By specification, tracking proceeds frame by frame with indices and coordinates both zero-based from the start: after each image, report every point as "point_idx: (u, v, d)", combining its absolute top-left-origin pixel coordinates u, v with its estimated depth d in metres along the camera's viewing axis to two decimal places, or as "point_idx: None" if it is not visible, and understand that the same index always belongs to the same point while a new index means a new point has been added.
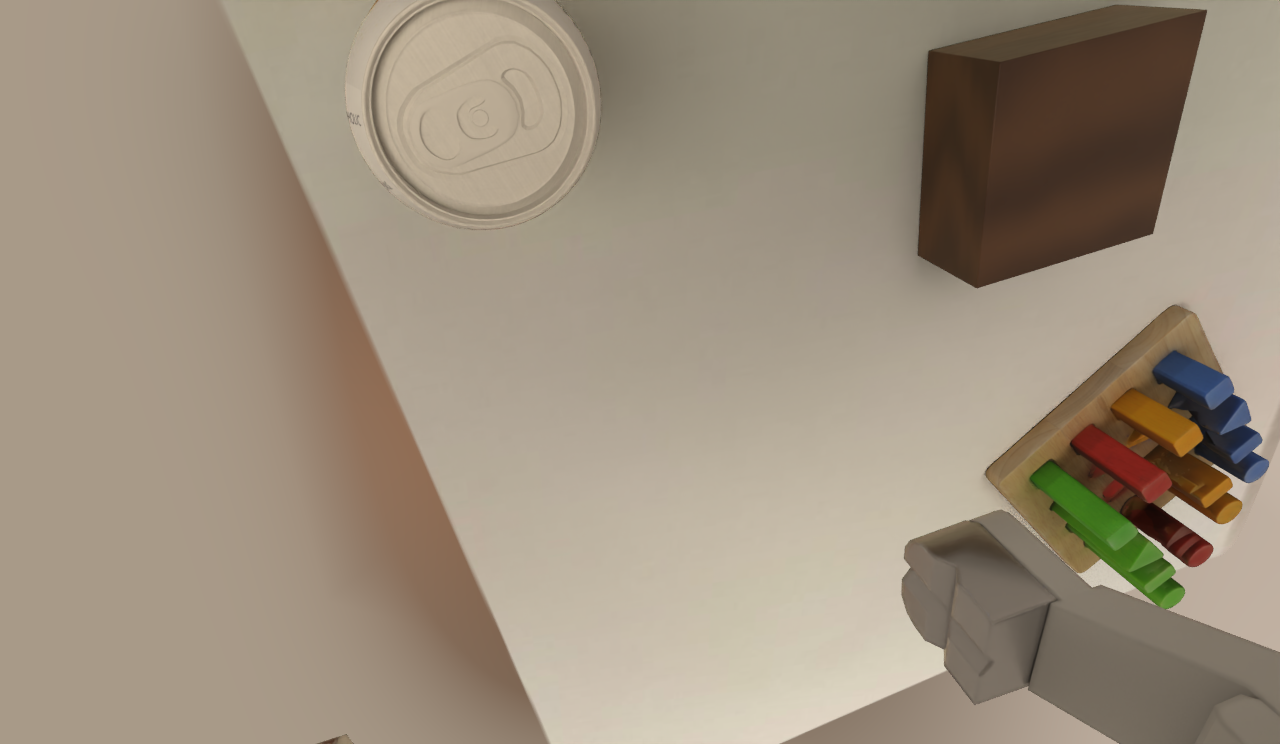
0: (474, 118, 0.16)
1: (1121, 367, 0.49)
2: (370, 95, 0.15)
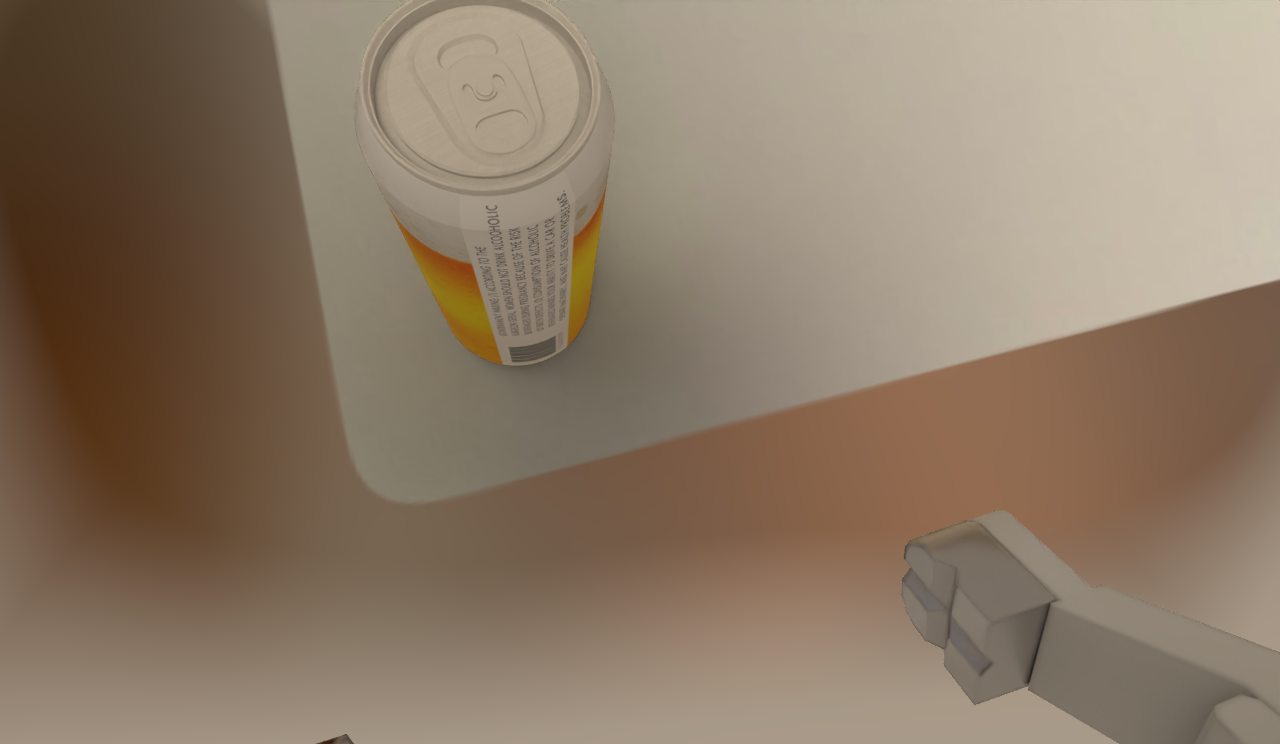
0: (485, 92, 0.16)
1: None
2: (462, 185, 0.15)
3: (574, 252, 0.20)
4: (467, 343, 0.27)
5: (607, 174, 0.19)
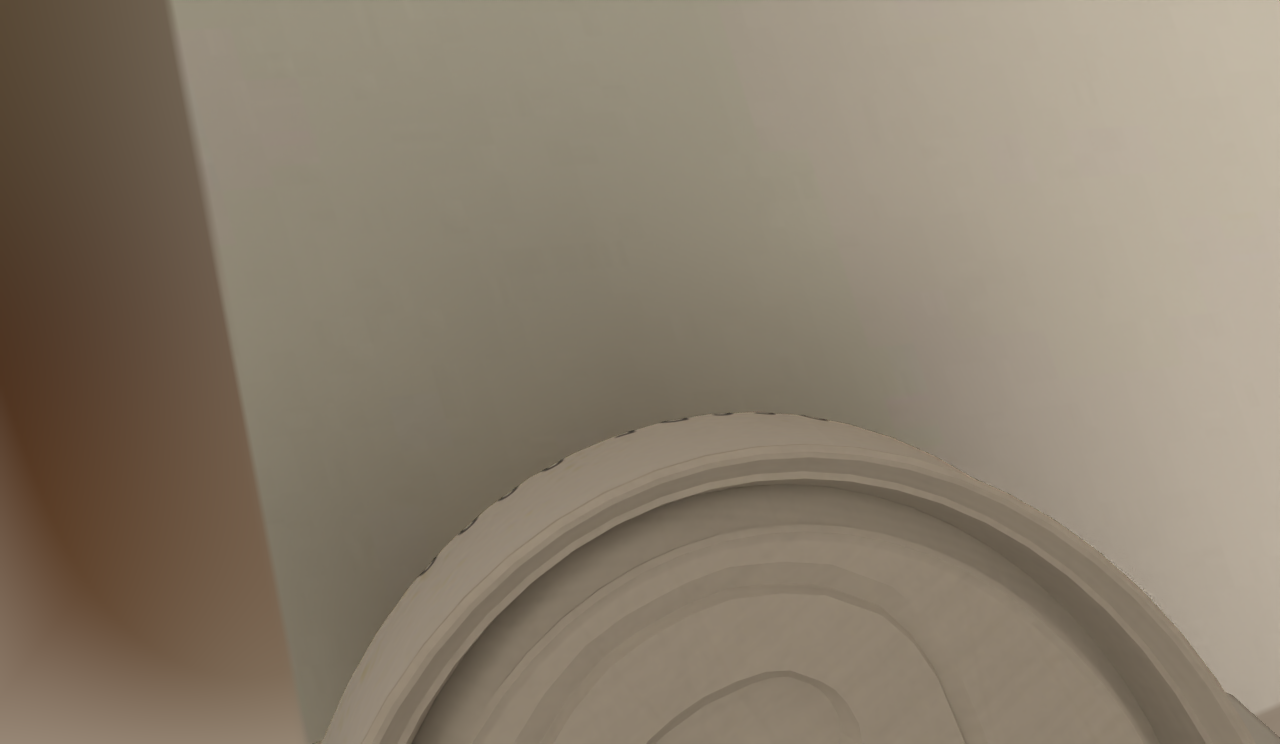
0: None
1: None
2: None
3: None
4: None
5: None
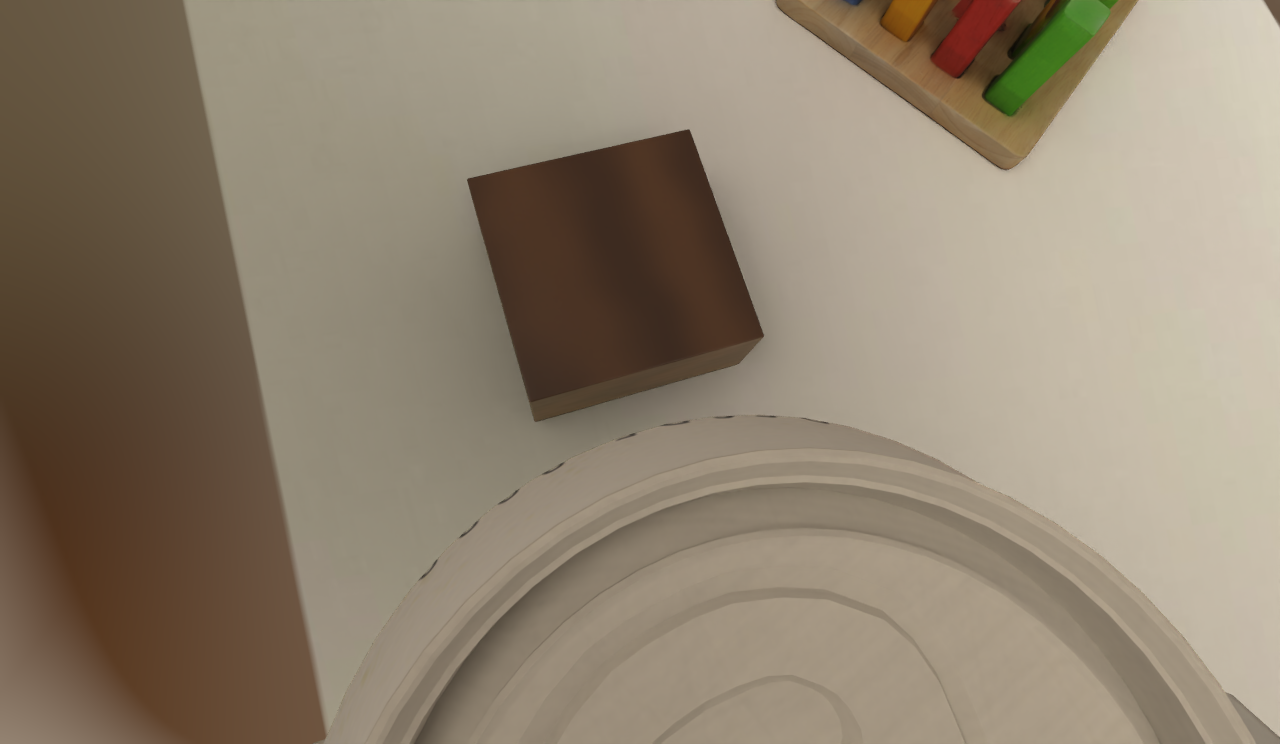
0: None
1: (855, 46, 0.41)
2: None
3: None
4: None
5: None
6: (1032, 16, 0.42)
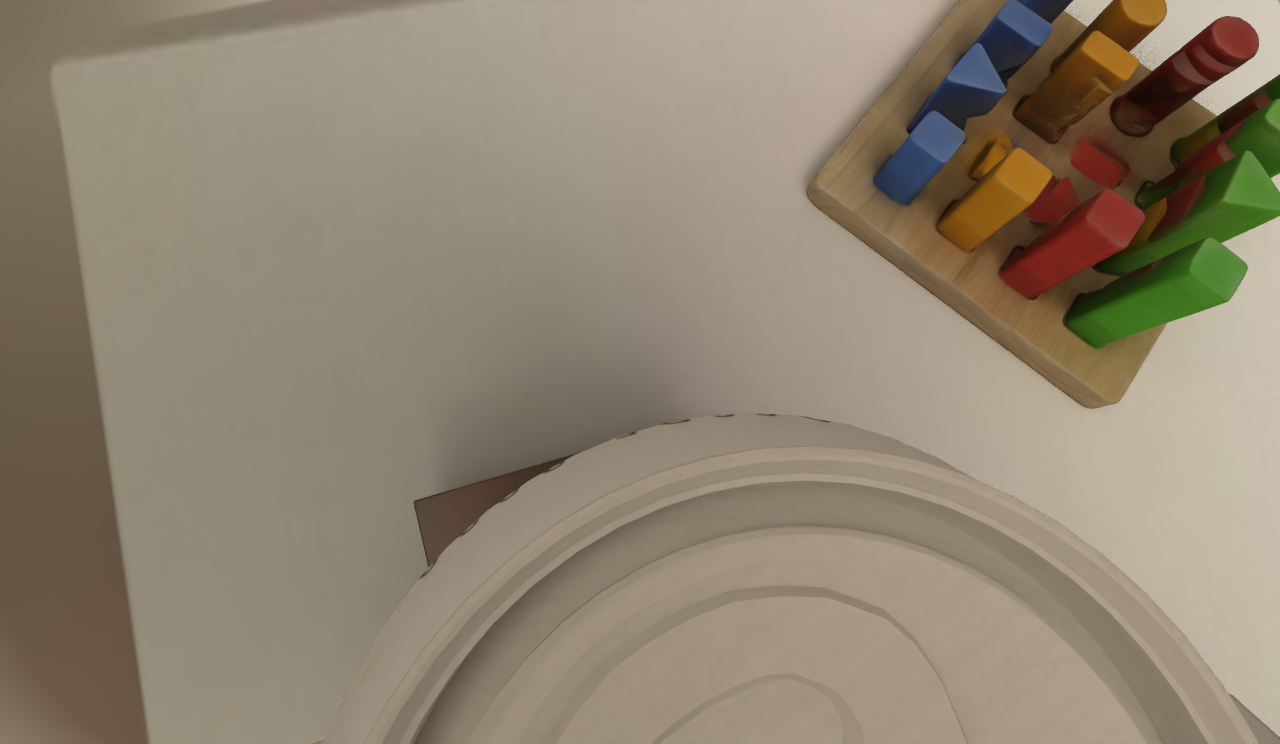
0: None
1: (905, 257, 0.33)
2: None
3: None
4: None
5: None
6: None
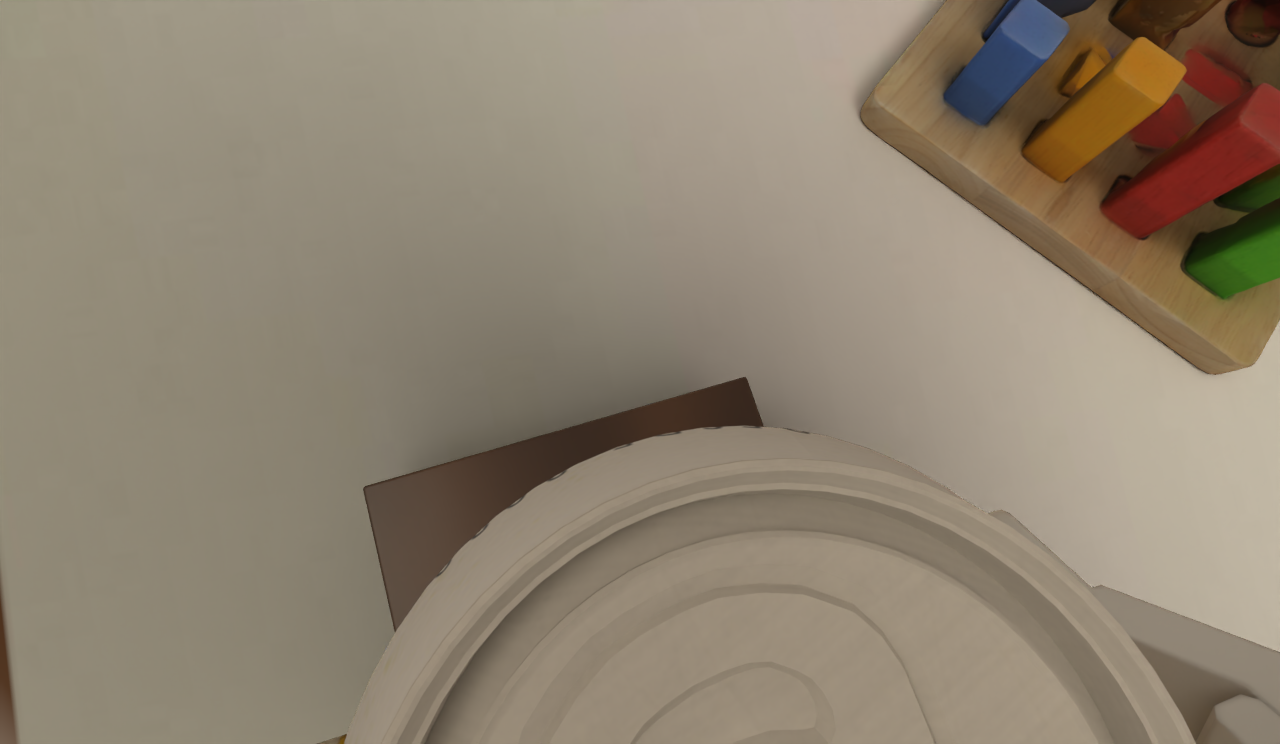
0: None
1: (984, 189, 0.27)
2: None
3: None
4: None
5: None
6: None
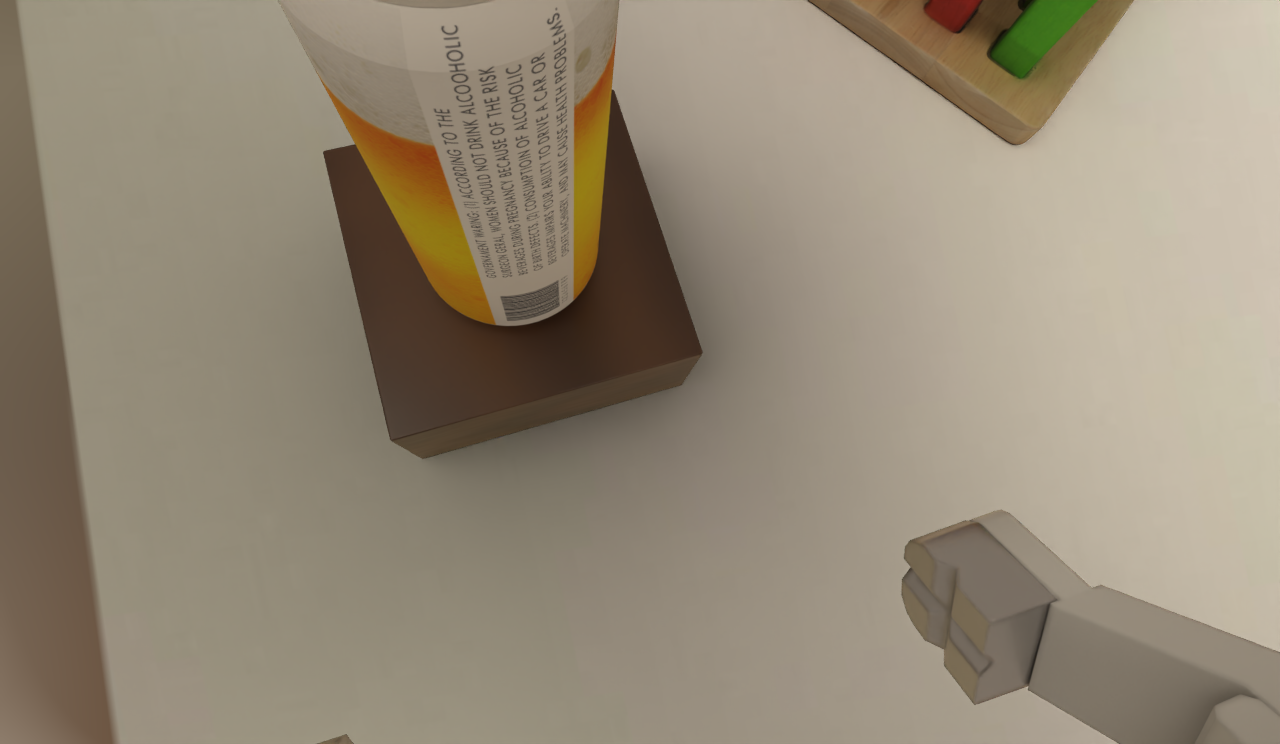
0: None
1: None
2: None
3: (576, 138, 0.15)
4: (451, 298, 0.22)
5: (616, 18, 0.13)
6: None
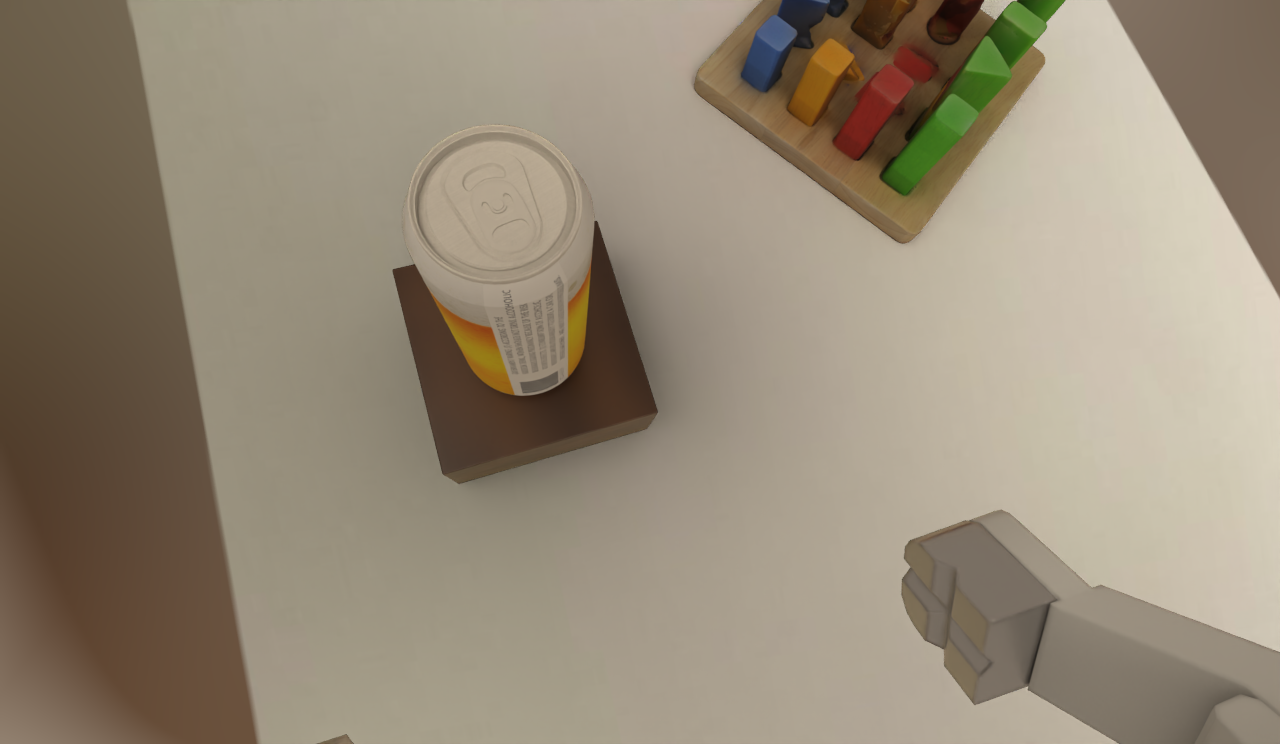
0: (498, 207, 0.22)
1: (763, 130, 0.45)
2: (485, 277, 0.21)
3: (569, 312, 0.25)
4: (485, 379, 0.33)
5: (591, 253, 0.24)
6: (929, 100, 0.46)
